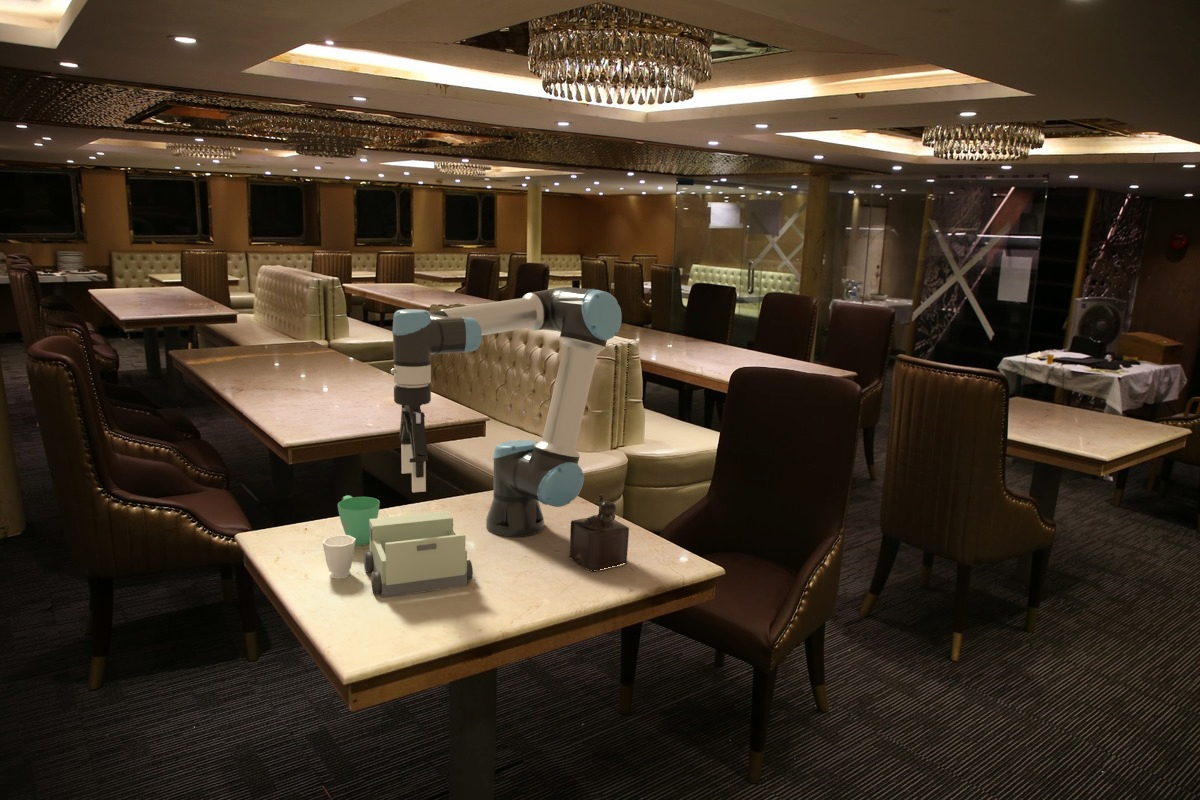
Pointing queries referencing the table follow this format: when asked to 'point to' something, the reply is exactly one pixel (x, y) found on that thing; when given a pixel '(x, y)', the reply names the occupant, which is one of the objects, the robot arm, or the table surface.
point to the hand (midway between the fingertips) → (413, 481)
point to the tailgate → (425, 559)
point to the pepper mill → (599, 539)
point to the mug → (358, 516)
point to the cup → (339, 554)
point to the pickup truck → (402, 531)
